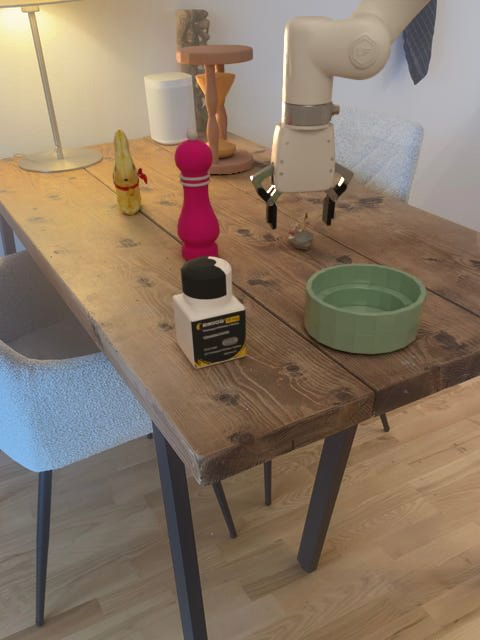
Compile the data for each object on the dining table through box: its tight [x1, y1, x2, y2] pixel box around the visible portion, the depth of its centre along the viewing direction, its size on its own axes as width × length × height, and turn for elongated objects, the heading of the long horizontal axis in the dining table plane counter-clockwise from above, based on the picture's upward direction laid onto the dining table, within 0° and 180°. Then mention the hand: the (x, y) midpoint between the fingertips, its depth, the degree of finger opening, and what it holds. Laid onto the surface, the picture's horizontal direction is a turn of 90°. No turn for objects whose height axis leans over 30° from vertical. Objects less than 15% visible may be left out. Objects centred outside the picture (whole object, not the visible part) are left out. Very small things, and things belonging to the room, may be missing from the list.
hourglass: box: [175, 44, 255, 176], centre depth 136 cm, size 18×18×25 cm
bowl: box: [303, 262, 428, 355], centre depth 76 cm, size 15×15×6 cm
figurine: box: [287, 212, 315, 251], centre depth 99 cm, size 5×4×6 cm
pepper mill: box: [174, 128, 221, 261], centre depth 92 cm, size 7×7×20 cm
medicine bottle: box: [171, 256, 247, 370], centre depth 70 cm, size 7×7×12 cm
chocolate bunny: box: [112, 129, 148, 216], centre depth 114 cm, size 7×11×15 cm, turn 11°
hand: (299, 225), depth 98 cm, fingers open, 9 cm apart
